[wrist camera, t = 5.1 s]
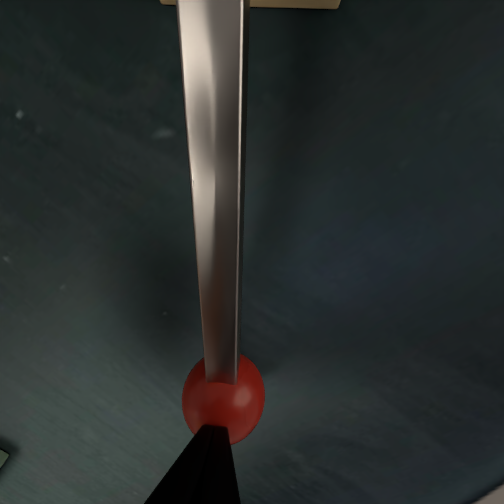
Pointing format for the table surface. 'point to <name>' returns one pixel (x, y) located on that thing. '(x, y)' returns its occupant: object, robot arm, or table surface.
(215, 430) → the robot arm
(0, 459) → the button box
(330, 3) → the switch bracket
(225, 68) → the switch lever
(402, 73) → the table surface
